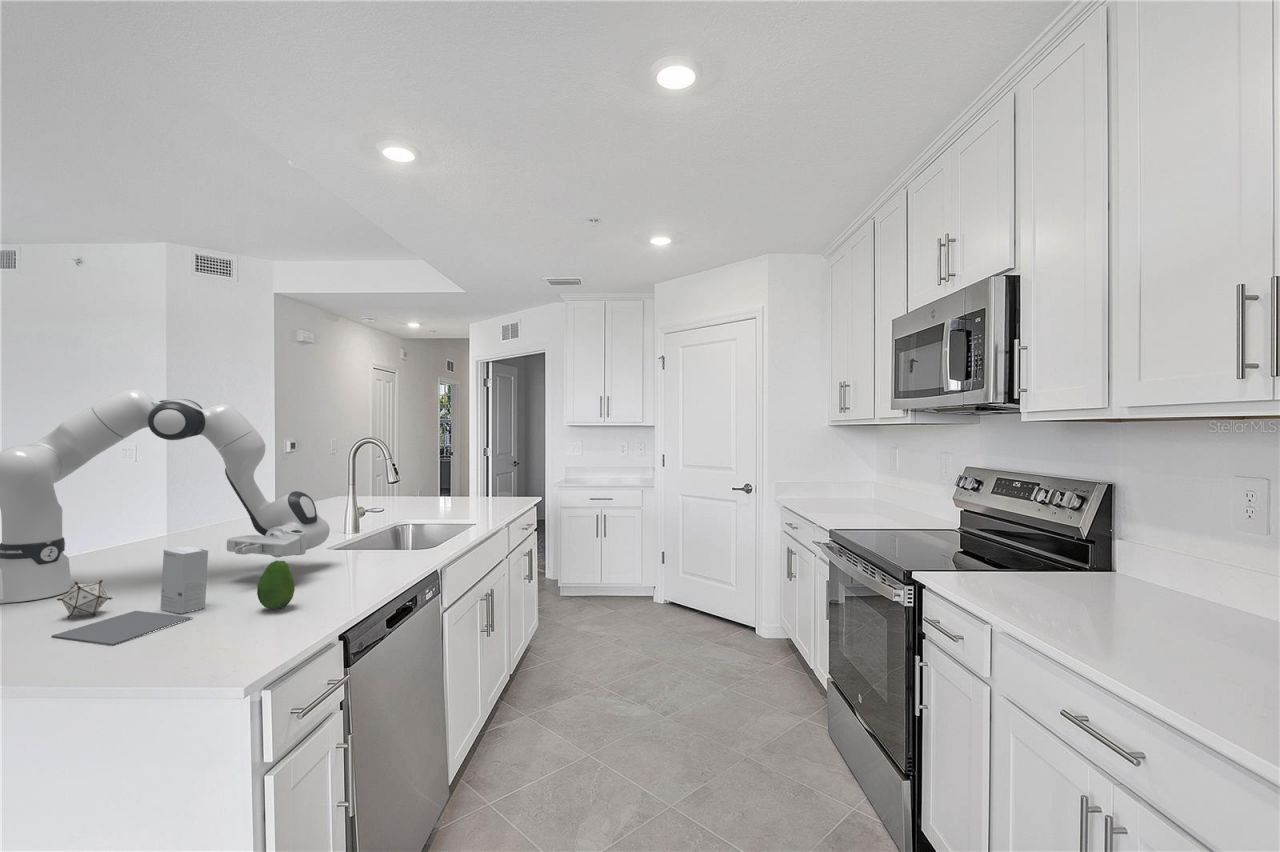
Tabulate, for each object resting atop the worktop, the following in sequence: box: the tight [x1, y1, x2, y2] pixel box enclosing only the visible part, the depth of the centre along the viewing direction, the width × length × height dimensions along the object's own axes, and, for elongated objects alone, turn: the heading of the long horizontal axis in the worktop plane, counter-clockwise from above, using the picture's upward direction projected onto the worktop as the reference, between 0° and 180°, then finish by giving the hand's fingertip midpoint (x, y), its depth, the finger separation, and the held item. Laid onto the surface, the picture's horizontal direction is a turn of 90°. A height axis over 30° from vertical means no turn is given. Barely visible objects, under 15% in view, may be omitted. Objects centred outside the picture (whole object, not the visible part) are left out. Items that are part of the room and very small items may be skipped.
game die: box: [56, 579, 114, 619], centre depth 140 cm, size 9×8×10 cm
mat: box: [51, 610, 193, 647], centre depth 133 cm, size 17×17×1 cm
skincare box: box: [159, 545, 209, 615], centre depth 146 cm, size 8×6×15 cm
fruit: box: [256, 560, 296, 611], centre depth 147 cm, size 8×8×12 cm
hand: (239, 551), depth 161 cm, fingers closed
